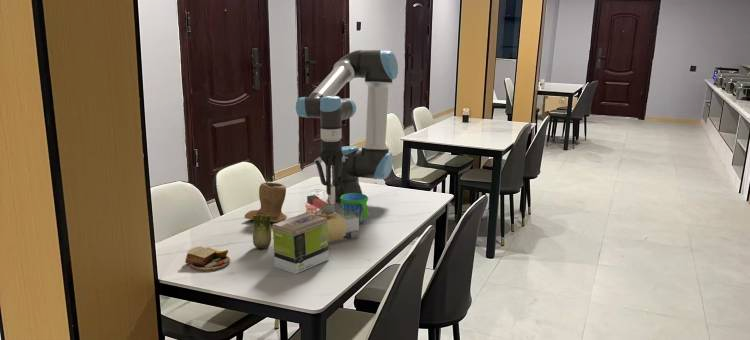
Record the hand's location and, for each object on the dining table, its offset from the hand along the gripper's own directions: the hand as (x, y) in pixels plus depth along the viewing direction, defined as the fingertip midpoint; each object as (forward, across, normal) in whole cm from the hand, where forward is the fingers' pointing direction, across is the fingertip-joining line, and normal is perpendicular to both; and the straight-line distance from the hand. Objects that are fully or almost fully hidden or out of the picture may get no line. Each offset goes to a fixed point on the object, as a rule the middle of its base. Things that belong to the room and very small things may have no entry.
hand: (332, 202), depth 221 cm
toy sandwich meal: (+12, -46, -16) cm, 51 cm away
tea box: (+11, -18, -27) cm, 34 cm away
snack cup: (+11, +11, +8) cm, 18 cm away
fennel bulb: (+11, -28, -8) cm, 31 cm away
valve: (+11, -4, -9) cm, 15 cm away
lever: (+1, -5, -3) cm, 6 cm away
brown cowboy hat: (+11, -20, +22) cm, 31 cm away
